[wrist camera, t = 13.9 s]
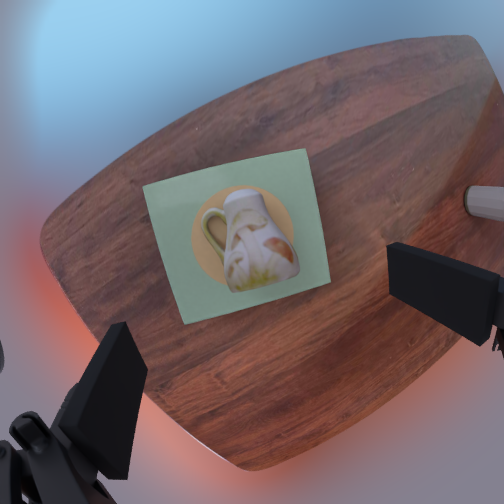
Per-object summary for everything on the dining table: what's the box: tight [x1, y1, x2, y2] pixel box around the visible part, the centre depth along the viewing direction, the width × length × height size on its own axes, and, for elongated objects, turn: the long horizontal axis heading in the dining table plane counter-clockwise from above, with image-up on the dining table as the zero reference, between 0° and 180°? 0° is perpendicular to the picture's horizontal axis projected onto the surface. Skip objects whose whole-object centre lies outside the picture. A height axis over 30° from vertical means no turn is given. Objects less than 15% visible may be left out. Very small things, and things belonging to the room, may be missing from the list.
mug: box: [201, 189, 300, 293], centre depth 26 cm, size 8×10×10 cm
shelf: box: [143, 148, 331, 325], centre depth 33 cm, size 16×18×7 cm
